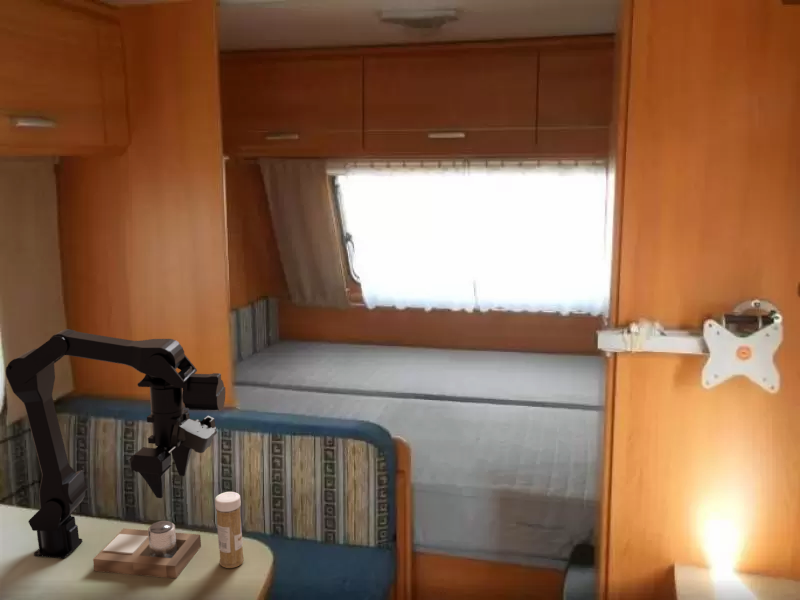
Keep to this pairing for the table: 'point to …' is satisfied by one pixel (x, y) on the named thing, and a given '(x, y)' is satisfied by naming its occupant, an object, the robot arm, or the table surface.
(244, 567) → the table surface
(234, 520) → the sprinkles bottle
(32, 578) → the table surface
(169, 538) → the plug
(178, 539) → the block
